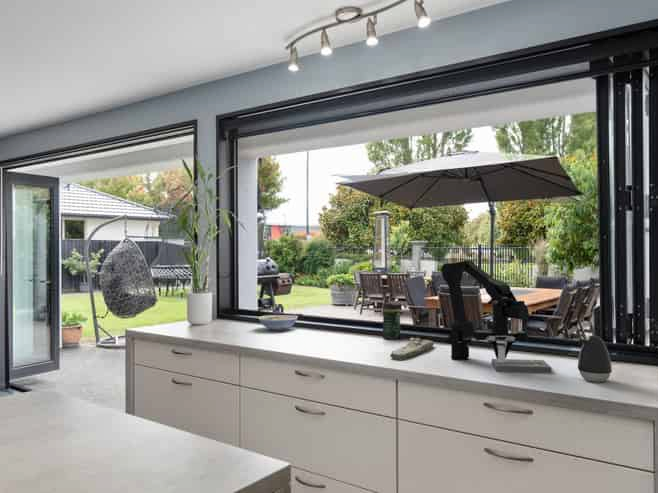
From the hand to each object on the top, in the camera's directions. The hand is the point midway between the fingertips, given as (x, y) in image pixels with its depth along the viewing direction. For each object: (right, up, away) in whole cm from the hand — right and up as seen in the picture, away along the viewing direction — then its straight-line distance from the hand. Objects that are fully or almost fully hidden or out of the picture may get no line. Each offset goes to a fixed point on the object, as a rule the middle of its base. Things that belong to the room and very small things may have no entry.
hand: (501, 358), depth 190 cm
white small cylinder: (0, -1, 0) cm, 1 cm away
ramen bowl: (-94, -6, +99) cm, 137 cm away
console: (+7, -3, -1) cm, 8 cm away
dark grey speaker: (+25, -3, -20) cm, 32 cm away
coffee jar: (-33, -5, +67) cm, 75 cm away
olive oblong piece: (-28, -5, +31) cm, 42 cm away
